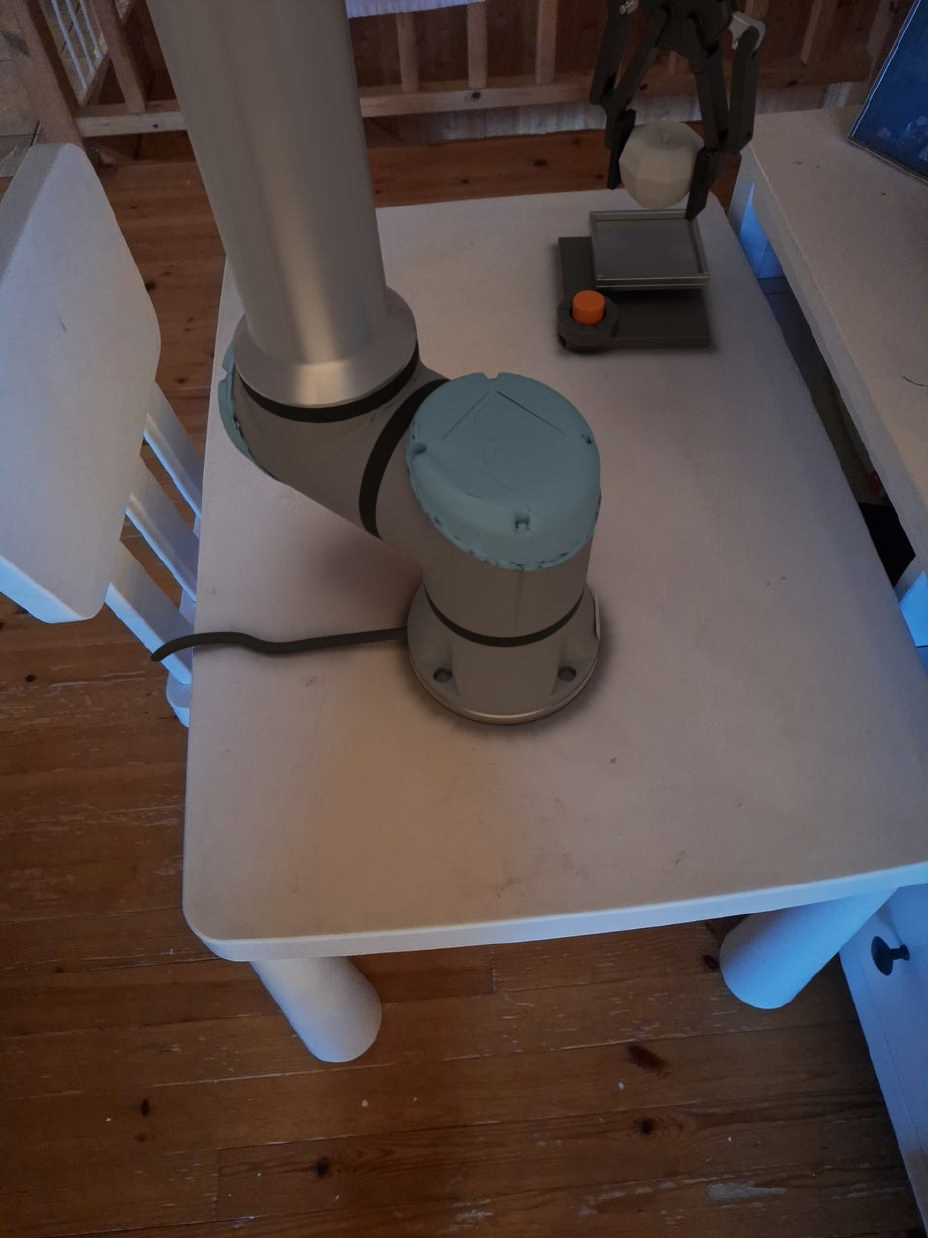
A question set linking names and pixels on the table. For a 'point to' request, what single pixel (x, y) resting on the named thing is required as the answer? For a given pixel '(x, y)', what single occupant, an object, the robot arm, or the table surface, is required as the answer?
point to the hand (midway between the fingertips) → (655, 196)
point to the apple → (659, 163)
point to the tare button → (588, 307)
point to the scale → (626, 310)
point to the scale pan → (646, 250)
